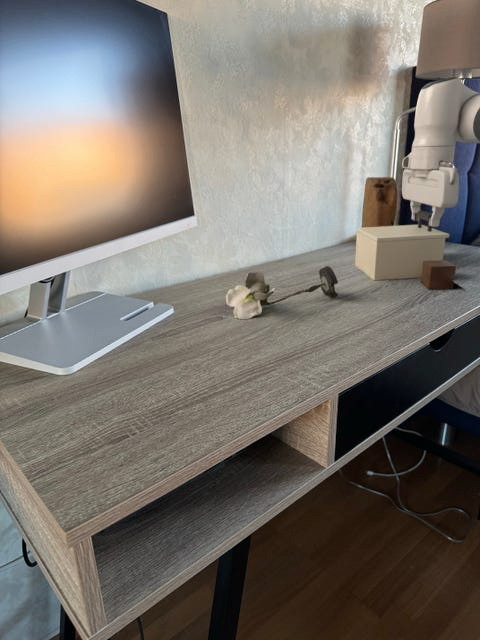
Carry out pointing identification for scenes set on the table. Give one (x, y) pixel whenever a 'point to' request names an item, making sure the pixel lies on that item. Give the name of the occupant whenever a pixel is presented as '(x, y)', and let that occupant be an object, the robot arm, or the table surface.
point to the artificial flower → (269, 293)
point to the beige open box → (396, 256)
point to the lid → (404, 231)
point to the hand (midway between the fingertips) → (424, 223)
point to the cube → (438, 274)
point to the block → (379, 202)
